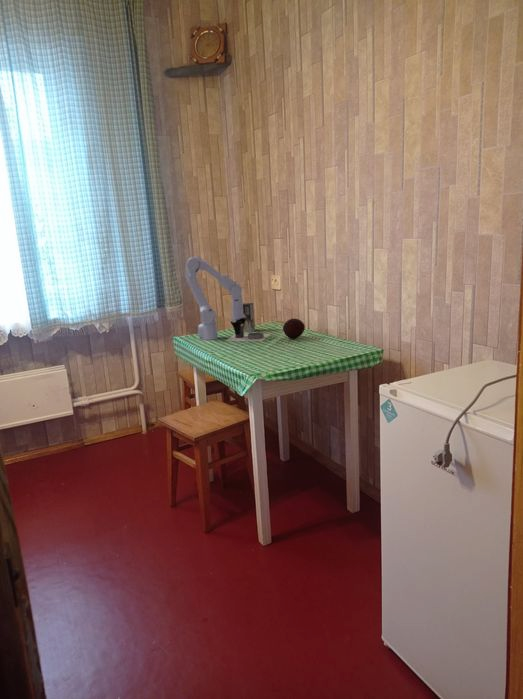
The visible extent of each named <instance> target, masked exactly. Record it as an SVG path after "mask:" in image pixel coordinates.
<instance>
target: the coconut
mask: <svg viewBox="0 0 523 699" xmlns="http://www.w3.org/2000/svg"><path fill="white" fill-rule="evenodd" d="M305 328H306V326H305V324H304V322H303V321H302V320H300V319H298V318H290V319H288V320H286V322H285V323H284V324H283V326H282V331H283V334H285V336H286V337H287V338H289V339H290V340H296V339H298V338H299V337H301V336H302V335H303V333H304V331H305Z"/></svg>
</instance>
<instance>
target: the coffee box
mask: <svg viewBox="0 0 523 699" xmlns="http://www.w3.org/2000/svg"><path fill="white" fill-rule="evenodd" d="M254 311H255V310H254V303H253V302H243V314H244V316H246V317H245V318H246V321H245V324H244V329H243V330H244V333H254V331H256V325H255V324H256V323H255V312H254Z"/></svg>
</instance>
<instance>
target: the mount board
mask: <svg viewBox="0 0 523 699" xmlns="http://www.w3.org/2000/svg"><path fill="white" fill-rule="evenodd" d="M269 336H271V334H270V333H266V334H265V333H264V332H261V331H260V332H257V331H256V332H249V333H248V334H247V333H244V337H243V338H235V334H233V335H232V336H230V337H229V338H227V339H225V340H224V341H225V342H263V341H264V340H266V339H267V338H268V337H269Z"/></svg>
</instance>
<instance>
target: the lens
mask: <svg viewBox="0 0 523 699" xmlns="http://www.w3.org/2000/svg"><path fill="white" fill-rule="evenodd" d="M244 334H245V332H244V330H243V323H241V328H240V335H236V334H235V333H234V335H235V338H243V337H244Z"/></svg>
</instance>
